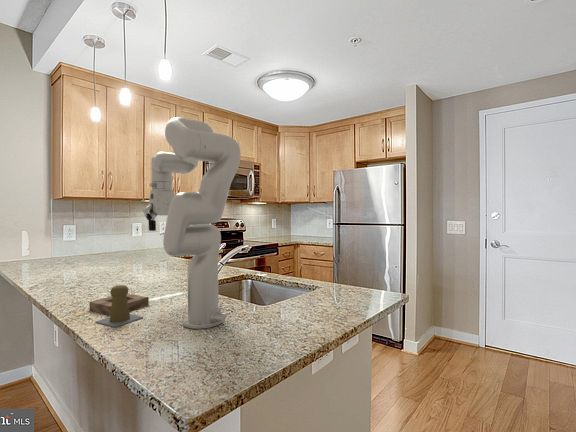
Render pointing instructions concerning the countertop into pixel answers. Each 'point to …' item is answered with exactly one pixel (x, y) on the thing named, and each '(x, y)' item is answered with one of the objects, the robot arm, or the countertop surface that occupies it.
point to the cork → (119, 304)
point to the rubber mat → (117, 324)
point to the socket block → (106, 303)
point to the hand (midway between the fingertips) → (162, 229)
